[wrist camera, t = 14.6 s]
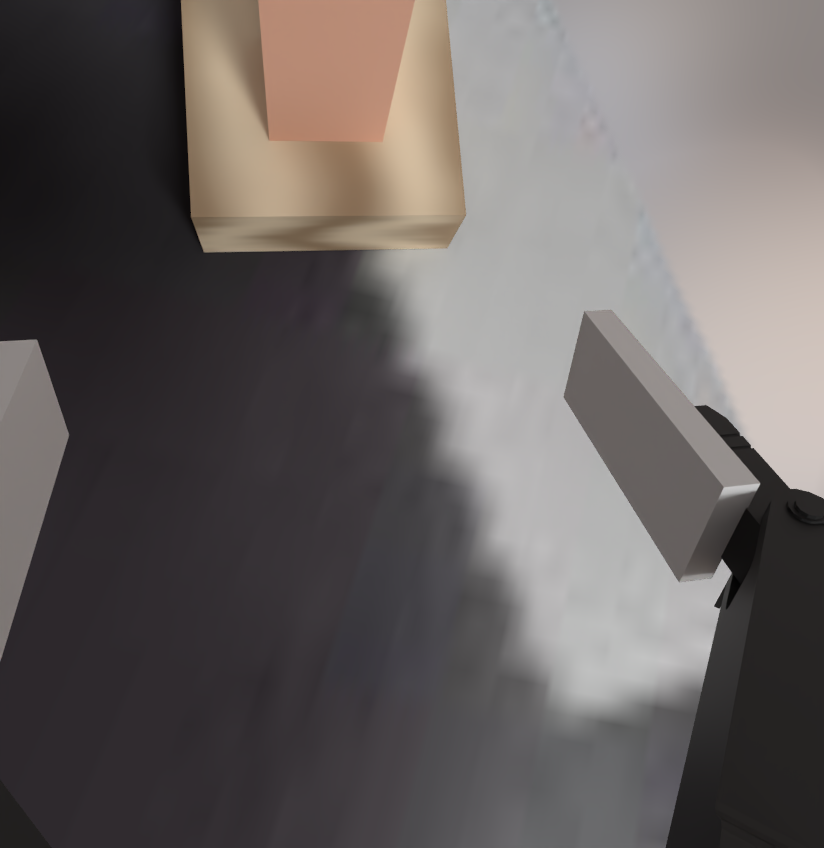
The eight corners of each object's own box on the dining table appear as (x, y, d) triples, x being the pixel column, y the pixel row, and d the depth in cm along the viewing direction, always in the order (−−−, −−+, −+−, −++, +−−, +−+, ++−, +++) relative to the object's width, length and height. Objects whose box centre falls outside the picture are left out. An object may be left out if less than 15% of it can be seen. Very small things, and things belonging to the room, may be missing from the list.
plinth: (204, 252, 33) (191, 217, 29) (192, 21, 34) (179, -42, 30) (447, 248, 35) (466, 215, 31) (427, 31, 36) (443, -28, 32)
